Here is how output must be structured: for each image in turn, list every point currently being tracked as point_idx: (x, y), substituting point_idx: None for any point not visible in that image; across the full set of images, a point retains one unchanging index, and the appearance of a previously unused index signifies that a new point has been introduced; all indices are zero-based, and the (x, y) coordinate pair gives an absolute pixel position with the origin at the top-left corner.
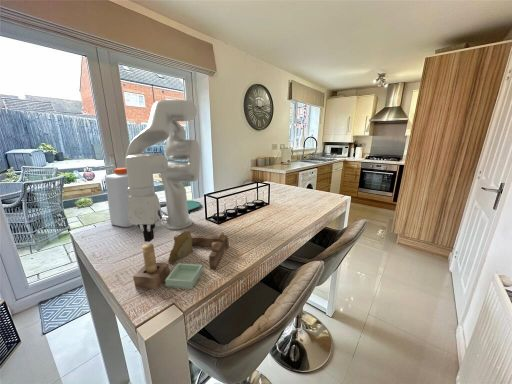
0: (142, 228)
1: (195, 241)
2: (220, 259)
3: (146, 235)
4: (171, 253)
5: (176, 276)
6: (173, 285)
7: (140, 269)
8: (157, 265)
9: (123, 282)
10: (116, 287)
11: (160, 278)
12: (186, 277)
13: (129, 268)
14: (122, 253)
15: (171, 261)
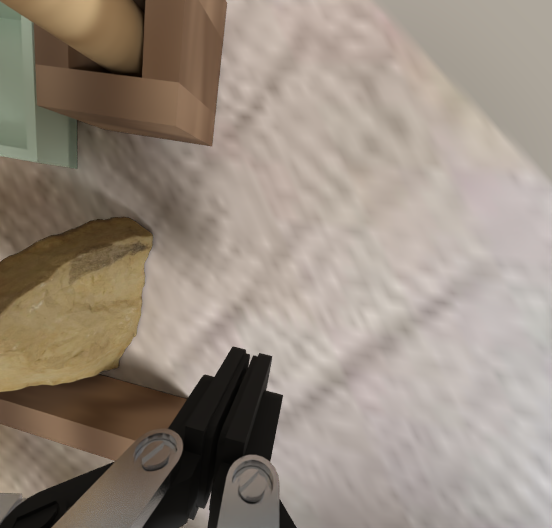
0: (240, 504)
1: (52, 390)
2: None
3: (228, 396)
4: (88, 244)
5: None
6: None
7: (182, 24)
8: (91, 79)
9: (321, 55)
10: (340, 4)
11: None
12: (2, 83)
13: (352, 198)
14: (477, 370)
15: (121, 223)
